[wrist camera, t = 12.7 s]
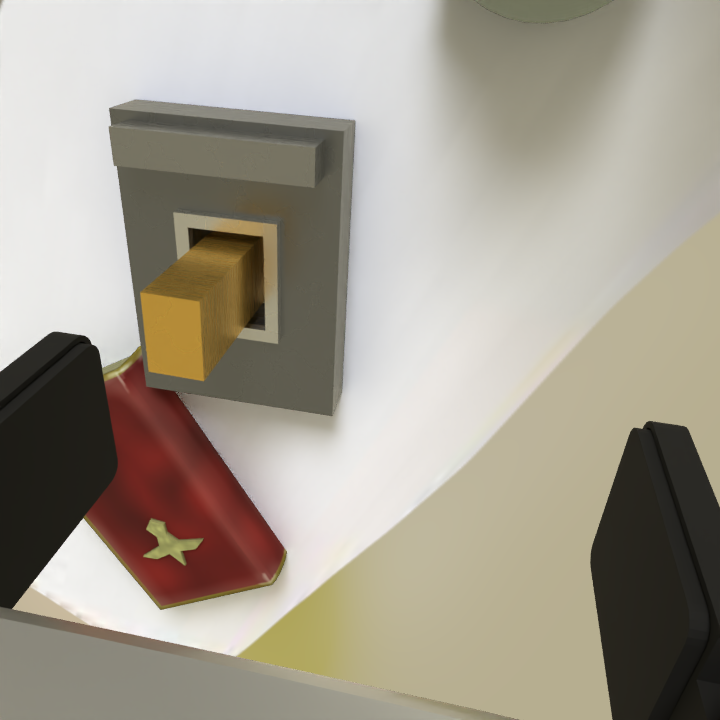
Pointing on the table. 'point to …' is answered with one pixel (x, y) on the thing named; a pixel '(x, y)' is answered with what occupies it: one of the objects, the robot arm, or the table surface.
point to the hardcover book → (176, 501)
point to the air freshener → (542, 9)
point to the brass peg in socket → (202, 304)
